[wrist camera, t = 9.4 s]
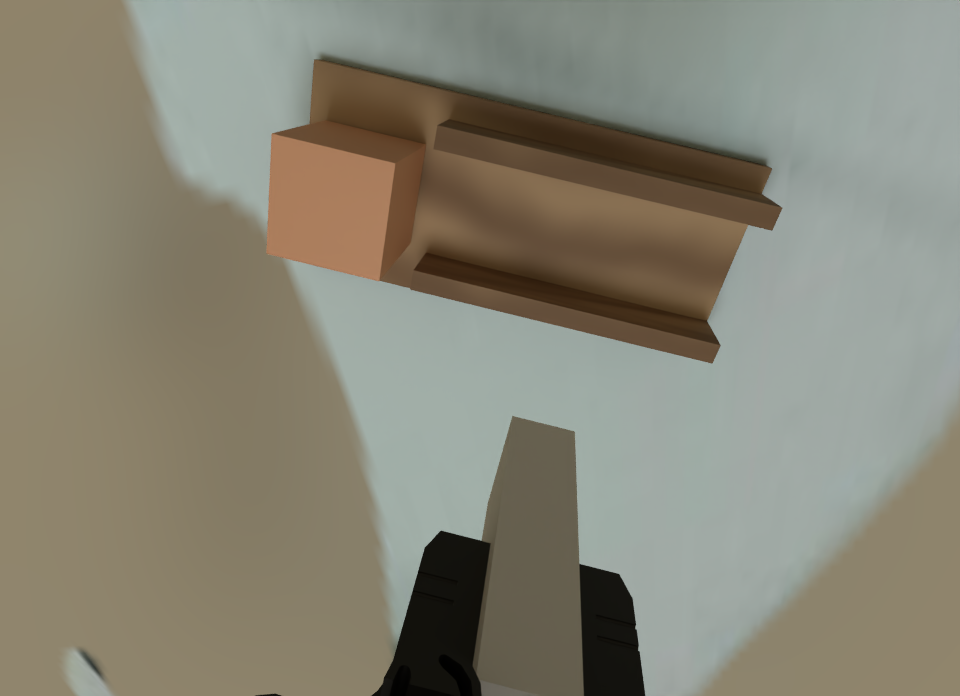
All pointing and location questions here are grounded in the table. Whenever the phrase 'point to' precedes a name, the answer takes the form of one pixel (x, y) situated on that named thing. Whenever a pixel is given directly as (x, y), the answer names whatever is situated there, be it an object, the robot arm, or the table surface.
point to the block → (342, 197)
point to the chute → (558, 212)
